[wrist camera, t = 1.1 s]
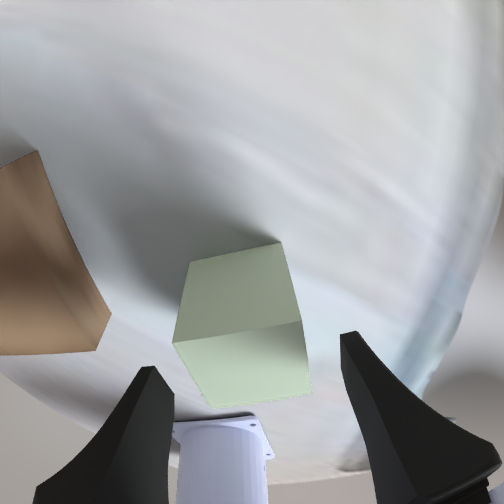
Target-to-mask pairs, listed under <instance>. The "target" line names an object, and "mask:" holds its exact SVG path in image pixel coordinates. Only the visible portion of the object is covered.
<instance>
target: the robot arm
mask: <svg viewBox="0 0 504 504" xmlns="http://www.w3.org/2000/svg"><path fill="white" fill-rule="evenodd" d="M340 353H341V370H342V374H343V379H344V383H345V387H346V390H347V393H348V396H349V399H350V402H351V404H352V407H353V410H354V413H355V415H356V418H357V421H358V424H359V426H360V429H361V432H362V435H363V438H364V441H365V444H366V448H367V453H368V457H369V462H370V466H371V471H372V476H373V481H374V486H375V492H376V499H377V504H504V482H503V483H502V484H500V485H499V486H497V487H495V488H494V489H492V490H491V491H489V492H488V490H487V488H486V487H487V486H489V482H488V479H487V477H488V476H490V475H491V474H492V473H493V472H495V471H496V470H497V469H498V468H500V466H501V464H502V461H501V459H500V456H499V454H498V452H497V451H496V449H495V447H494V446H493V444H492V443H490V442H488V441H486V440H484V439H481V438H479V437H477V436H475V435H473V434H472V433H469V432H468V431H466V430H464V429H462V428H461V427H459V426H457V425H456V424H454V423H453V422H451V421H450V420H448V419H446V418H445V417H443V416H442V415H440V414H439V413H437V412H436V411H434V410H433V409H432V408H431V407H429V406H428V405H427V404H425V403H424V402H423V401H422V400H421V399H419V398H418V397H417V396H416V395H415V394H414V393H412V392H411V391H410V390H409V389H408V388H407V387H406V386H405V385H404V384H403V383H402V382H401V381H400V380H399V379H398V378H397V377H396V376H395V375H394V374H393V373H392V372H391V371H390V370H389V369H388V368H387V367H386V366H385V365H384V364H383V362H382V361H381V360H380V359H379V358H378V357H377V356H376V354H375V353H374V352H373V351H372V350H371V348H370V347H369V346H368V345H367V343H366V342H365V341H364V339H363V338H362V337H361V335H360V334H359V332H357V331H353V332H349V333H345V334H340ZM171 437H173V438H174V439H175V440H176V441H177V442H178V443H179V444H180V445H181V446H180V457H179V468H178V480H177V493H176V504H268V491H267V477H266V464H265V460H269V459H273V458H275V454H274V452H273V450H272V448H271V446H270V444H269V442H268V440H267V437H266V435H265V433H264V431H263V429H262V427H261V425H260V422H259V420H258V418H257V417H256V416H244V417H236V418H227V419H216V420H205V421H190V422H174V393H173V392H172V390H171V389H170V387H169V386H168V385H167V383H166V382H165V380H164V379H163V377H162V376H161V375H160V373H159V372H158V370H157V369H156V367H155V366H147V367H141V369H140V370H139V371H138V373H137V375H136V376H135V378H134V379H133V381H132V382H131V384H130V386H129V387H128V389H127V390H126V392H125V394H124V395H123V397H122V398H121V400H120V401H119V403H118V404H117V406H116V407H115V409H114V410H113V412H112V413H111V415H110V416H109V417H108V419H107V420H106V422H105V423H104V424H103V426H102V427H101V429H100V430H99V431H98V432H97V434H96V435H95V436H94V437H93V438H92V440H91V441H90V442H89V443H88V444H87V445H86V447H85V448H84V449H83V450H82V451H81V452H80V453H79V454H78V455H77V456H76V457H75V458H74V459H73V460H72V461H70V462H69V463H68V464H67V465H66V466H65V467H63V468H62V469H61V470H60V471H59V472H57V473H56V474H55V475H53V476H52V477H51V478H49V479H47V480H46V481H45V482H43V483H42V484H40V485H38V486H37V487H36V492H35V496H34V499H33V504H169V501H168V460H169V452H170V445H171Z"/></svg>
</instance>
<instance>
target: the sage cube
mask: <svg viewBox="0 0 504 504" xmlns="http://www.w3.org/2000/svg"><path fill="white" fill-rule="evenodd" d="M172 344H173V346H174V348H175V350H176V351H177V353H178V355H179V357H180V359H181V360H182V362H183V364H184V365H185V367H186V369H187V371H188V372H189V374H190V376H191V377H192V379H193V381H194V382H195V384H196V386H197V387H198V389H199V391H200V392H201V394H202V395H203V397H204V399H205V400H206V402H207V403H208V405H209V406H210V408H211V409H217V408H226V407H235V406H242V405H250V404H256V403H263V402H269V401H275V400H281V399H286V398H292V397H297V396H302V395H307V394H311V393H313V392H312V385H311V378H310V371H309V364H308V357H307V351H306V344H305V338H304V331H303V325H302V319H301V315H300V311H299V307H298V303H297V299H296V296H295V292H294V288H293V284H292V280H291V276H290V272H289V269H288V265H287V261H286V257H285V254H284V250H283V246H282V242H280V243H275V244H270V245H265V246H261V247H256V248H251V249H247V250H242V251H237V252H233V253H228V254H223V255H219V256H214V257H209V258H205V259H200V260H195V261H191V262H190V264H189V268H188V272H187V276H186V281H185V285H184V289H183V294H182V298H181V302H180V307H179V311H178V316H177V321H176V325H175V330H174V335H173V340H172Z"/></svg>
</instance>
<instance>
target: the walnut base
mask: <svg viewBox="0 0 504 504" xmlns="http://www.w3.org/2000/svg"><path fill="white" fill-rule="evenodd" d="M110 316H111V312H110V310H109V309H108V307H107V305H106V303H105V302H104V300H103V298H102V296H101V294H100V293H99V291H98V289H97V287H96V285H95V283H94V281H93V280H92V278H91V276H90V274H89V272H88V270H87V268H86V266H85V264H84V262H83V260H82V258H81V256H80V254H79V252H78V250H77V248H76V245H75V243H74V241H73V239H72V237H71V235H70V233H69V230H68V228H67V226H66V224H65V221H64V219H63V217H62V214H61V212H60V209H59V207H58V205H57V202H56V200H55V197H54V195H53V192H52V189H51V187H50V184H49V181H48V179H47V176H46V173H45V170H44V168H43V165H42V162H41V159H40V156H39V153H38V151H36V152H33V153H31V154H29V155H27V156H24V157H22V158H20V159H18V160H16V161H14V162H12V163H10V164H8V165H6V166H4V167H2V168H0V355H38V354H58V353H74V352H88V351H96V349H97V346H98V344H99V341H100V339H101V337H102V334H103V332H104V330H105V328H106V325H107V323H108V321H109V319H110Z"/></svg>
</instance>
